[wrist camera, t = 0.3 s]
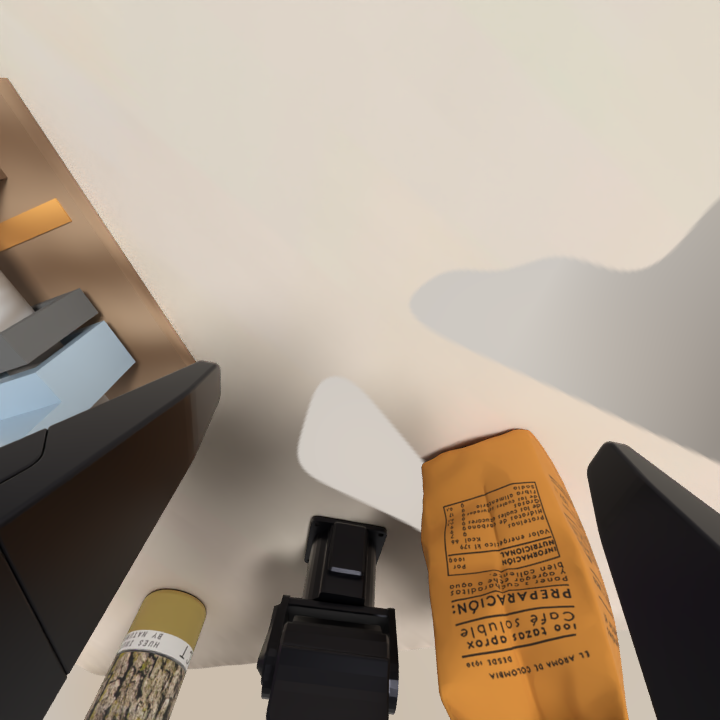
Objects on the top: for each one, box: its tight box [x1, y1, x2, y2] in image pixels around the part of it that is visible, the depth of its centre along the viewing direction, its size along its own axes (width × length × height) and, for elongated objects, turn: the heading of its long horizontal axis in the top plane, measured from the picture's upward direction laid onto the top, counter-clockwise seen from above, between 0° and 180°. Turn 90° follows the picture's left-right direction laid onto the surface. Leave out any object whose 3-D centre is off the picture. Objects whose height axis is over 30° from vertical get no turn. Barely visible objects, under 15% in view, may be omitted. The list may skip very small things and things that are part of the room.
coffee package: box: [421, 429, 629, 720], centre depth 22 cm, size 10×12×22 cm
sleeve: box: [0, 321, 135, 447], centre depth 20 cm, size 3×5×11 cm, turn 110°
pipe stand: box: [0, 78, 196, 408], centre depth 22 cm, size 17×10×6 cm, turn 20°
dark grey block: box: [0, 288, 98, 373], centre depth 21 cm, size 2×5×5 cm, turn 109°
